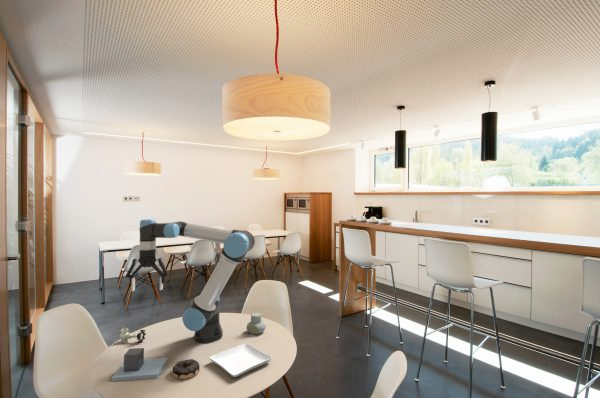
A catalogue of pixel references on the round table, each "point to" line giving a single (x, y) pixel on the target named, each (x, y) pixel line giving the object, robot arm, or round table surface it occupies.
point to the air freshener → (256, 324)
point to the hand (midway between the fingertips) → (147, 290)
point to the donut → (185, 369)
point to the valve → (131, 335)
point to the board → (142, 370)
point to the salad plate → (240, 359)
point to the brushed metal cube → (133, 359)
